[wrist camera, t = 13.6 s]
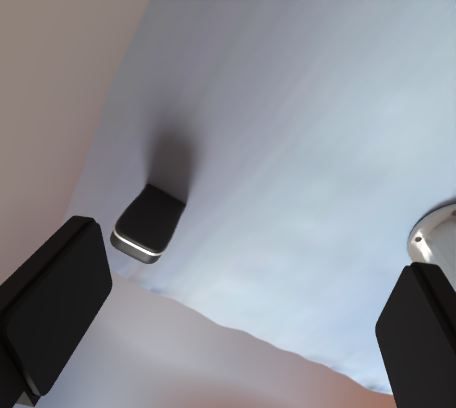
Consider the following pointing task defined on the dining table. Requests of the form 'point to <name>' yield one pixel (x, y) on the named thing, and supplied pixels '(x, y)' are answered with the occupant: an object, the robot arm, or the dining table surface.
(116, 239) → the battery charger
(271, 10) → the dining table surface
